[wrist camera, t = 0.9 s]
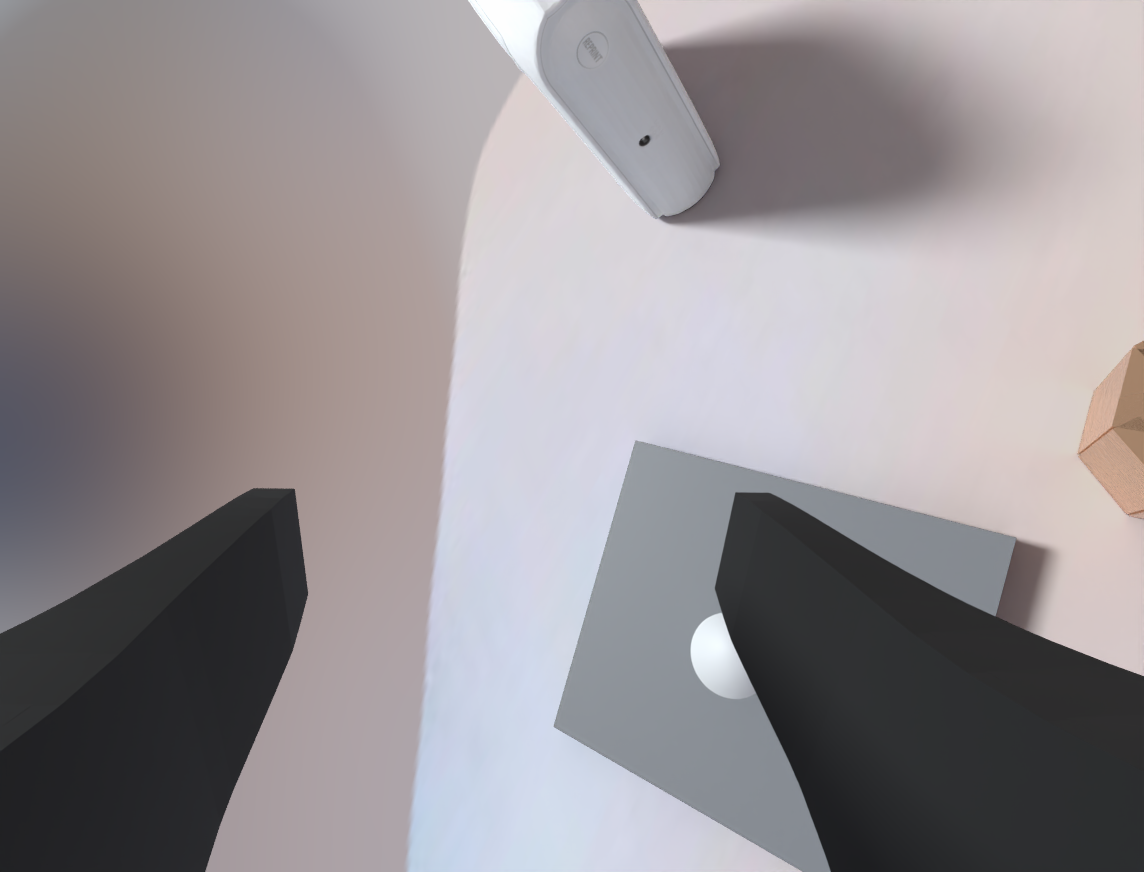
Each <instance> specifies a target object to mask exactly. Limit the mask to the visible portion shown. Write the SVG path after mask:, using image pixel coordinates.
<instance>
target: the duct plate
mask: <svg viewBox="0 0 1144 872" xmlns="http://www.w3.org/2000/svg"><path fill="white" fill-rule="evenodd" d="M735 492H750V493H771V494H773V495H775V496H777V497H780V498H782V499H783V500H785V501H787V502H789V503H791V504H793V505H794V506H796V507H798V508H800V509H801V510H803V511H805V512H807V513H808V514H810V515H812V516H813V517H815V518H817V519H818V520H820V521H822V522H823V523H825V524H826V525H828V526H830V527H831V528H833V529H835V530H836V531H838V532H840V533H841V534H843V535H845V536H846V537H848V538H850V539H851V540H853V541H855V542H856V543H858V544H860V545H861V546H863V547H865V548H866V549H868V550H870V551H871V552H873V553H875V554H877V555H878V556H880V557H882V558H883V559H885V560H887V561H889V562H890V563H892V564H894V565H896V566H898V567H899V568H901V569H903V570H905V571H906V572H908V573H910V574H912V575H914V576H916V577H918V578H919V579H921V580H923V581H925V582H927V583H929V584H931V585H932V586H934V587H936V588H938V589H940V590H942V591H944V592H946V593H948V594H950V595H952V596H954V597H956V598H958V599H960V600H962V601H964V602H966V603H968V604H970V605H972V606H974V607H976V608H978V609H980V610H983V611H985V612H987V613H989V614H991V615H993V616H996V613H997V609H998V606H999V602H1000V598H1001V594H1002V591H1003V587H1004V583H1005V579H1006V575H1007V572H1008V568H1009V564H1010V560H1011V557H1012V553H1013V549H1014V545H1015V541H1016V538H1015V537H1011V536H1007V535H1003V534H999V533H995V532H991V531H988V530H984V529H980V528H976V527H972V526H968V525H964V524H960V523H956V522H952V521H949V520H945V519H941V518H937V517H933V516H929V515H925V514H921V513H917V512H913V511H909V510H906V509H902V508H898V507H894V506H890V505H886V504H882V503H878V502H874V501H870V500H867V499H863V498H859V497H855V496H851V495H847V494H843V493H839V492H835V491H831V490H827V489H824V488H820V487H816V486H812V485H808V484H804V483H800V482H796V481H792V480H788V479H785V478H781V477H777V476H773V475H769V474H765V473H761V472H757V471H753V470H749V469H745V468H742V467H738V466H734V465H730V464H726V463H722V462H718V461H714V460H710V459H706V458H703V457H699V456H695V455H691V454H687V453H683V452H679V451H675V450H671V449H667V448H664V447H660V446H656V445H652V444H648V443H644V442H640V441H635V444H634V447H633V451H632V454H631V458H630V461H629V465H628V468H627V472H626V475H625V479H624V482H623V486H622V489H621V493H620V496H619V500H618V503H617V507H616V510H615V514H614V517H613V521H612V524H611V528H610V531H609V535H608V538H607V542H606V545H605V549H604V552H603V556H602V559H601V563H600V566H599V570H598V573H597V577H596V580H595V584H594V587H593V591H592V594H591V597H590V601H589V604H588V608H587V611H586V615H585V618H584V622H583V625H582V629H581V632H580V636H579V639H578V643H577V646H576V650H575V653H574V657H573V660H572V664H571V667H570V671H569V674H568V678H567V681H566V685H565V688H564V692H563V695H562V699H561V702H560V706H559V709H558V713H557V716H556V720H555V723H554V727H555V728H556V729H558V730H560V731H562V732H563V733H565V734H567V735H569V736H570V737H572V738H574V739H575V740H577V741H579V742H581V743H582V744H584V745H586V746H587V747H589V748H591V749H593V750H594V751H596V752H598V753H599V754H601V755H603V756H605V757H606V758H608V759H610V760H612V761H613V762H615V763H617V764H618V765H620V766H622V767H624V768H625V769H627V770H629V771H630V772H632V773H634V774H636V775H637V776H639V777H641V778H642V779H644V780H646V781H648V782H649V783H651V784H653V785H655V786H656V787H658V788H660V789H661V790H663V791H665V792H667V793H668V794H670V795H672V796H673V797H675V798H677V799H679V800H680V801H682V802H684V803H685V804H687V805H689V806H691V807H692V808H694V809H696V810H698V811H699V812H701V813H703V814H704V815H706V816H708V817H710V818H711V819H713V820H715V821H716V822H718V823H720V824H722V825H723V826H725V827H727V828H728V829H730V830H732V831H734V832H735V833H737V834H739V835H741V836H742V837H744V838H746V839H747V840H749V841H751V842H753V843H754V844H756V845H758V846H759V847H761V848H763V849H765V850H766V851H768V852H770V853H771V854H773V855H775V856H777V857H778V858H780V859H782V860H784V861H785V862H787V863H789V864H790V865H792V866H794V867H796V868H797V869H799V870H801V871H802V872H831V871H830V868H829V865H828V862H827V859H826V856H825V853H824V851H823V848H822V845H821V842H820V840H819V837H818V834H817V831H816V829H815V826H814V823H813V821H812V818H811V815H810V812H809V810H808V807H807V804H806V801H805V799H804V796H803V793H802V791H801V788H800V786H799V783H798V781H797V779H796V777H795V774H794V772H793V770H792V767H791V765H790V763H789V760H788V758H787V756H786V754H785V752H784V750H783V748H782V746H781V744H780V742H779V740H778V738H777V736H776V734H775V731H774V729H773V727H772V725H771V723H770V721H769V719H768V717H767V715H766V713H765V711H764V709H763V707H762V705H761V702H760V700H759V698H758V696H757V694H756V692H755V690H754V688H753V686H752V684H751V682H750V680H749V678H748V675H747V673H746V671H745V669H744V667H743V665H742V663H741V661H740V659H739V656H738V654H737V652H736V650H735V648H734V646H733V643H732V641H731V639H730V636H729V633H728V630H727V627H726V624H725V621H724V618H723V615H722V611H721V608H720V605H719V601H718V598H717V595H716V591H715V584H716V580H717V575H718V570H719V566H720V561H721V556H722V552H723V547H724V543H725V538H726V533H727V529H728V524H729V519H730V515H731V510H732V505H733V501H734V496H735Z"/></svg>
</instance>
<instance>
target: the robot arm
mask: <svg viewBox="0 0 1144 872" xmlns="http://www.w3.org/2000/svg"><path fill="white" fill-rule="evenodd" d="M715 591H716V595H717V598H718V601H719V605H720V608H721V611H722V615H723V618H724V621H725V624H726V627H727V630H728V633H729V636H730V639H731V641H732V643H733V646H734V648H735V650H736V652H737V654H738V656H739V659H740V661H741V663H742V665H743V667H744V669H745V671H746V673H747V675H748V678H749V680H750V682H751V684H752V686H753V688H754V690H755V692H756V694H757V696H758V698H759V700H760V702H761V705H762V707H763V709H764V711H765V713H766V715H767V717H768V719H769V721H770V723H771V725H772V727H773V729H774V731H775V734H776V736H777V738H778V740H779V742H780V744H781V746H782V748H783V750H784V752H785V754H786V756H787V758H788V760H789V763H790V765H791V767H792V770H793V772H794V774H795V777H796V779H797V781H798V783H799V786H800V788H801V791H802V793H803V796H804V799H805V801H806V804H807V807H808V810H809V812H810V815H811V818H812V821H813V823H814V826H815V829H816V831H817V834H818V837H819V840H820V842H821V845H822V848H823V851H824V853H825V856H826V859H827V862H828V865H829V868H830V871H831V872H1144V676H1142V675H1139V674H1136V673H1133V672H1131V671H1128V670H1125V669H1122V668H1119V667H1117V666H1114V665H1111V664H1108V663H1106V662H1103V661H1101V660H1098V659H1096V658H1093V657H1091V656H1088V655H1085V654H1083V653H1080V652H1078V651H1075V650H1073V649H1070V648H1068V647H1065V646H1063V645H1060V644H1057V643H1055V642H1052V641H1050V640H1048V639H1045V638H1043V637H1040V636H1038V635H1036V634H1033V633H1031V632H1029V631H1026V630H1024V629H1022V628H1019V627H1017V626H1015V625H1013V624H1011V623H1008V622H1006V621H1004V620H1002V619H1000V618H998V617H996V616H993V615H991V614H989V613H987V612H985V611H983V610H980V609H978V608H976V607H974V606H972V605H970V604H968V603H966V602H964V601H962V600H960V599H958V598H956V597H954V596H952V595H950V594H948V593H946V592H944V591H942V590H940V589H938V588H936V587H934V586H932V585H931V584H929V583H927V582H925V581H923V580H921V579H919V578H918V577H916V576H914V575H912V574H910V573H908V572H906V571H905V570H903V569H901V568H899V567H898V566H896V565H894V564H892V563H890V562H889V561H887V560H885V559H883V558H882V557H880V556H878V555H877V554H875V553H873V552H871V551H870V550H868V549H866V548H865V547H863V546H861V545H860V544H858V543H856V542H855V541H853V540H851V539H850V538H848V537H846V536H845V535H843V534H841V533H840V532H838V531H836V530H835V529H833V528H831V527H830V526H828V525H826V524H825V523H823V522H822V521H820V520H818V519H817V518H815V517H813V516H812V515H810V514H808V513H807V512H805V511H803V510H801V509H800V508H798V507H796V506H794V505H793V504H791V503H789V502H787V501H785V500H783V499H782V498H780V497H777V496H775V495H773V494H771V493H750V492H735V496H734V501H733V505H732V510H731V515H730V519H729V524H728V529H727V533H726V538H725V543H724V547H723V552H722V556H721V561H720V566H719V570H718V575H717V580H716V584H715ZM307 596H308V589H307V581H306V574H305V566H304V559H303V550H302V543H301V535H300V527H299V519H298V512H297V504H296V496H295V489H264V488H263V489H262V488H260V489H258V488H256V489H255V488H254V489H251V490H250V491H248V492H246V493H244V494H242V495H240V496H238V497H237V498H235V499H233V500H232V501H230V502H228V503H227V504H225V505H224V506H222V507H221V508H219V509H217V510H216V511H214V512H213V513H211V514H209V515H208V516H206V517H205V518H203V519H202V520H200V521H199V522H197V523H195V524H194V525H192V526H191V527H189V528H187V529H186V530H184V531H183V532H181V533H180V534H178V535H176V536H175V537H173V538H171V539H170V540H168V541H167V542H165V543H163V544H162V545H161V546H159V547H157V548H156V549H154V550H152V551H151V552H149V553H148V554H146V555H145V556H143V557H141V558H139V559H137V560H136V561H134V562H132V563H131V564H129V565H127V566H126V567H124V568H122V569H120V570H119V571H117V572H115V573H113V574H111V575H110V576H108V577H106V578H104V579H103V580H101V581H99V582H98V583H96V584H94V585H92V586H91V587H89V588H88V589H85V590H84V591H82V592H80V593H78V594H77V595H75V596H73V597H71V598H70V599H68V600H66V601H64V602H62V603H60V604H58V605H57V606H55V607H53V608H51V609H49V610H47V611H45V612H43V613H41V614H39V615H37V616H35V617H34V618H32V619H30V620H28V621H26V622H24V623H22V624H19V625H17V626H15V627H13V628H11V629H9V630H7V631H5V632H3V633H1V634H0V872H205V870H206V867H207V864H208V861H209V857H210V855H211V851H212V848H213V845H214V842H215V839H216V836H217V833H218V830H219V826H220V824H221V821H222V818H223V815H224V813H225V810H226V808H227V805H228V803H229V800H230V797H231V795H232V792H233V790H234V787H235V785H236V783H237V780H238V778H239V776H240V773H241V771H242V769H243V766H244V764H245V762H246V759H247V757H248V755H249V752H250V750H251V748H252V745H253V743H254V741H255V738H256V736H257V734H258V731H259V729H260V727H261V724H262V722H263V720H264V718H265V715H266V713H267V710H268V708H269V706H270V704H271V701H272V699H273V696H274V694H275V692H276V689H277V687H278V685H279V682H280V680H281V678H282V675H283V673H284V670H285V668H286V666H287V663H288V661H289V658H290V656H291V653H292V651H293V648H294V644H295V640H296V637H297V633H298V630H299V626H300V622H301V619H302V615H303V612H304V608H305V604H306V600H307Z"/></svg>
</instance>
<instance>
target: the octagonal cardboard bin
mask: <svg viewBox="0 0 1144 872" xmlns="http://www.w3.org/2000/svg"><path fill="white" fill-rule="evenodd" d="M1078 454H1080V455H1079V456H1078V457H1079V458H1080V459H1081V460H1082V462H1083V463H1084V464H1085V465H1086V466H1087V468H1088V469H1089V470H1090V471H1091V472H1092V474H1093V475H1094V476H1095V477H1096V478H1097V480H1098V481H1099V482H1100V483H1101V484H1102V486H1103V487H1104V488H1105V489H1106V490H1107V492H1108V493H1109V494H1110V495H1111V496H1112V498H1113V499H1114V500H1115V501H1116V502H1117V504H1118V505H1119V506H1120V507H1121V508H1122V510H1123V511H1124V512H1125V513H1126V514H1129V516H1132V517H1137V518H1141V519H1144V341H1142V342H1141V343H1139V344H1137V345H1135V346H1134V347H1133V348H1132V349H1131V350H1130V351H1129V352H1128V353H1127V355H1126V356H1125V357H1124V358H1123V359H1122V360H1121V361H1120V362H1119V364H1118V365H1117V366H1116V367H1115V368H1114V369H1113V370H1112V371H1111V373H1110V374H1109V375H1108V376H1107V377H1106V378H1105V379H1104V381H1103V382H1102V383H1101V384H1100V385H1099V386H1098V387H1097V388H1096V390H1095V391H1094V393H1093V397H1092V401H1091V405H1090V409H1089V412H1088V416H1087V420H1086V424H1085V428H1084V431H1083V435H1082V439H1081V443H1080V447H1079V450H1078Z"/></svg>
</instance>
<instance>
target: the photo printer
mask: <svg viewBox="0 0 1144 872" xmlns="http://www.w3.org/2000/svg"><path fill="white" fill-rule="evenodd" d="M468 1H469V2H470V4H471V5H472V7H473V8H474V10H475V11H476V12H477V14H478V15H479V16H480V18H481V19H482V21H483V22H484V23H485V25H486V26H487V27H488V29H489V30H490V31H491V33H492V34H493V35H494V37H495V38H496V39H497V41H498V42H499V43H500V45H501V46H502V47H503V48H504V50H505V51H506V52H507V53H508V54H509V56H510V57H511V58H512V59H513V60H514V62H515V63H516V65H517V67H518V68H519V69H520V70H521V71H522V72H523V73H524V74H526V75H527V76H528V77H529V79H530V80H531V81H532V82H533V83H534V84H535V85H536V87H537V88H538V89H539V90H540V91H541V92H542V94H543V95H544V96H545V97H546V98H547V99H548V101H549V102H550V103H551V104H552V105H553V107H554V108H555V109H556V110H557V111H558V113H559V114H560V115H561V116H562V117H563V118H564V120H565V121H566V122H567V123H568V124H569V126H570V127H571V128H572V129H573V130H574V132H575V133H576V134H577V135H578V136H579V137H580V139H581V140H582V141H583V142H584V143H585V145H586V146H587V147H588V148H589V149H590V150H591V152H592V153H593V154H594V155H595V156H596V158H597V159H598V160H599V161H600V162H601V163H602V165H603V166H604V167H605V168H606V169H607V171H608V172H609V173H610V174H611V175H612V177H613V178H614V179H615V181H616V183H617V184H618V185H619V186H621V187H622V189H623V190H624V191H625V192H626V193H627V194H628V196H629V197H630V198H631V199H632V200H633V201H634V202H635V203H636V204H637V205H638V206H639V207H640V208H642V209H643V210H644V211H645V212H646V213H648V214H649V215H650V216H652V217H653V218H655V219H657V218H659V217H660V216H662V215H665V216H672V215H675V214H679V213H681V212H683V211H685V210H687V209H688V208H690V207H691V206H693V205H694V204H695V203H697V202H698V201H699V200H700V199H701V198H702V197H703V196H704V194H705V193H706V192H707V190H708V189H709V187H710V185H711V184H712V182H713V179H714V174H715V170H716V169H717V168H718V167H719V166H720V162H719V158H718V155H717V152H716V150H715V147H714V145H713V142H712V140H711V138H710V136H709V134H708V132H707V130H706V128H705V126H704V124H703V123H702V121H701V119H700V117H699V115H698V113H697V111H696V109H695V107H694V105H693V103H692V101H691V100H690V98H689V96H688V94H687V92H686V90H685V88H684V86H683V85H682V83H681V81H680V79H679V77H678V75H677V73H676V71H675V70H674V68H673V66H672V64H671V62H670V60H669V58H668V56H667V55H666V53H665V51H664V49H663V47H662V45H661V44H660V42H659V40H658V38H657V36H656V34H655V32H654V31H653V29H652V27H651V25H650V23H649V21H648V20H647V18H646V16H645V14H644V12H643V10H642V8H641V7H640V5H639V3H638V1H637V0H468Z"/></svg>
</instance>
